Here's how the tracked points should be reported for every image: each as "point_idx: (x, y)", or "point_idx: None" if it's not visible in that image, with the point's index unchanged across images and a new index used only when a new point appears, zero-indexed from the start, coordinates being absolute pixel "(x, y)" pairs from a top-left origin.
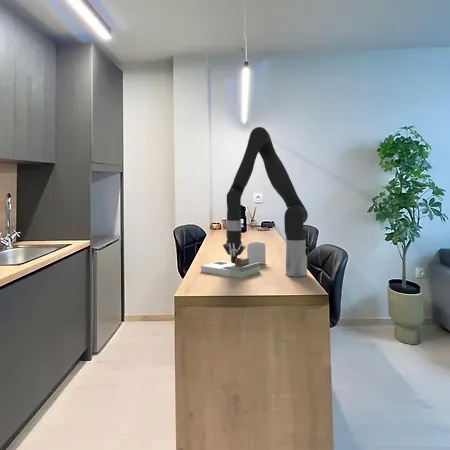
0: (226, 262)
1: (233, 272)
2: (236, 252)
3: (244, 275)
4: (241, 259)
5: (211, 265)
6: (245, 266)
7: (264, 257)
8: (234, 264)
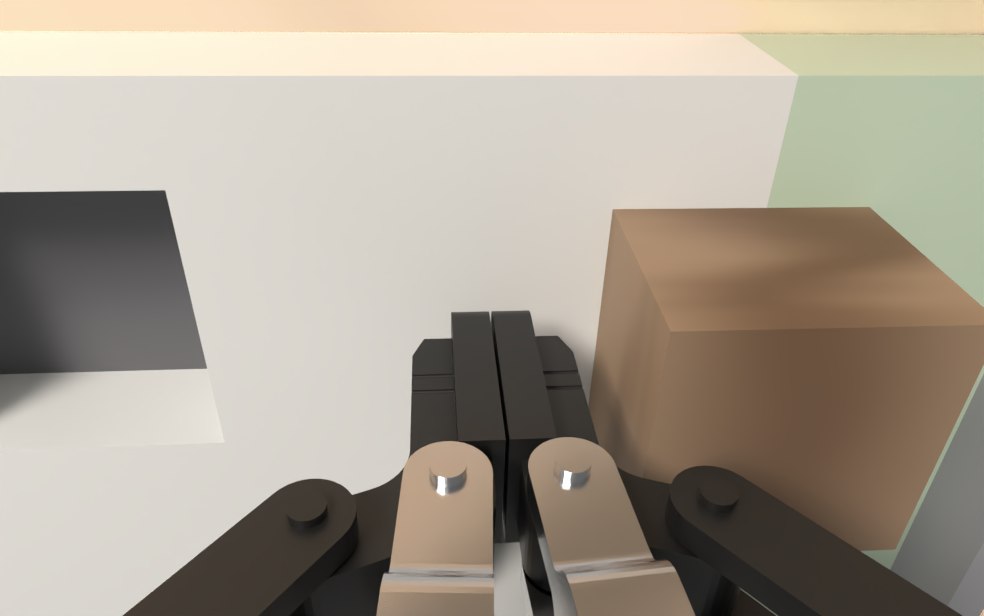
0: (57, 169)
1: None
2: (595, 557)
3: None
4: None
5: (121, 573)
6: (974, 606)
7: None
8: (443, 260)
